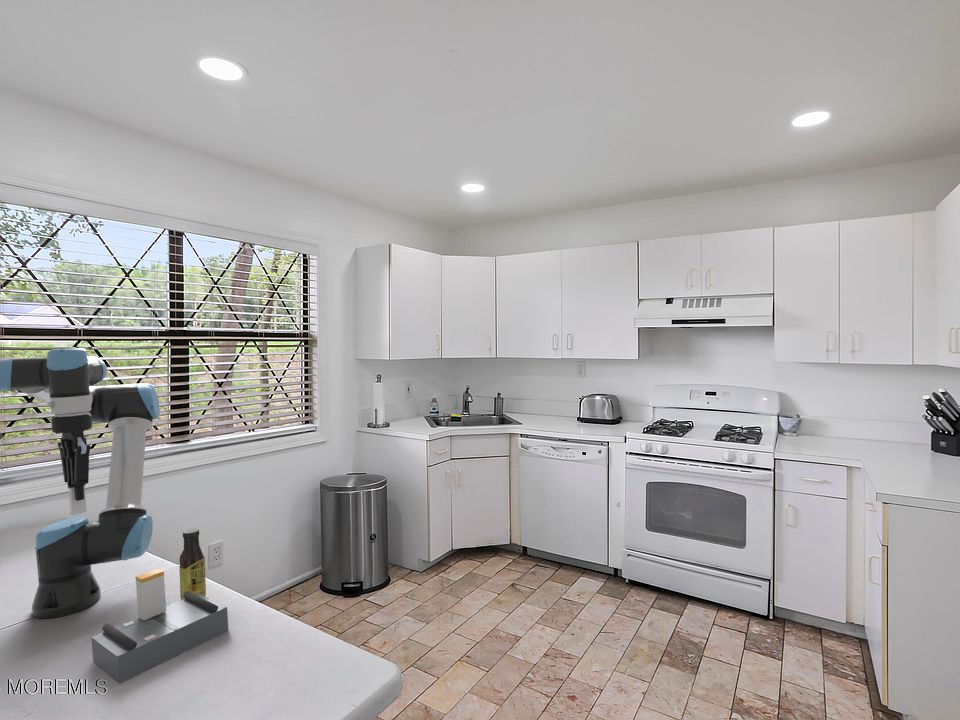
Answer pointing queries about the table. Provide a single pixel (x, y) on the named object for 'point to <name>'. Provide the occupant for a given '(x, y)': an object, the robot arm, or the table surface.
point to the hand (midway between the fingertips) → (78, 512)
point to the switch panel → (158, 638)
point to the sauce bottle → (192, 565)
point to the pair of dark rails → (132, 644)
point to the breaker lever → (150, 594)
